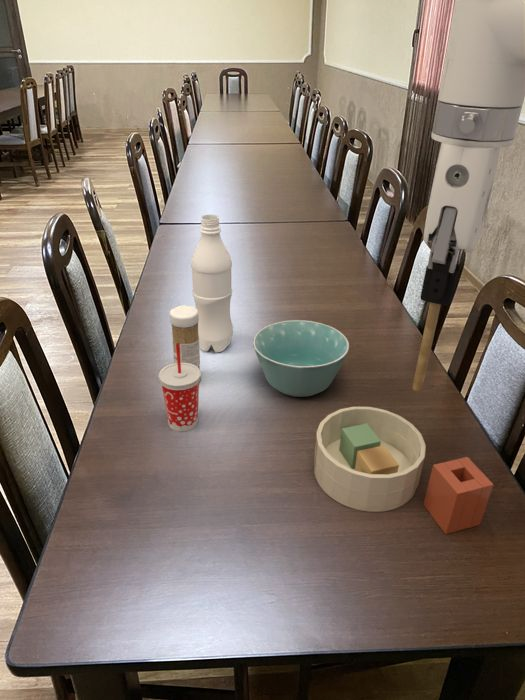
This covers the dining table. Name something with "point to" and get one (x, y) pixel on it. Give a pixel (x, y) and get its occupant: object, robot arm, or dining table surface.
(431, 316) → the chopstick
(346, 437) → the sage block
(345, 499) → the stir bowl
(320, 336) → the bowl
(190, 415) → the beverage cup
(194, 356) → the sprinkles bottle
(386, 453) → the maple block
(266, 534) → the dining table surface
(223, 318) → the water bottle
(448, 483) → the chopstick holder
